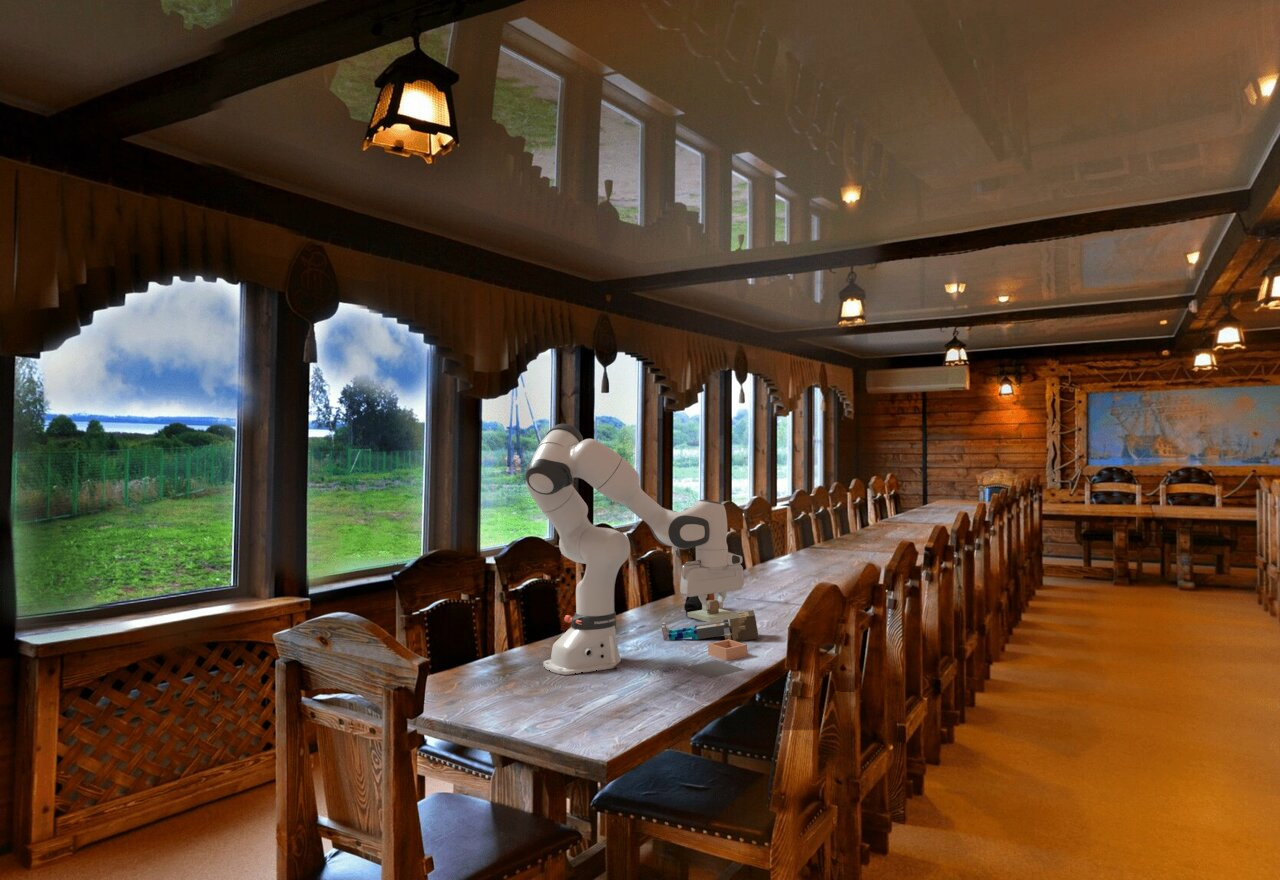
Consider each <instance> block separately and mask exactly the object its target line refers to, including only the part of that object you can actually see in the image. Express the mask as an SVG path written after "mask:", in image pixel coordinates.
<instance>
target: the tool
mask: <svg viewBox="0 0 1280 880" xmlns="http://www.w3.org/2000/svg"><path fill="white" fill-rule="evenodd" d="M685 597H686V599H685V602H684V611H685V616H686V618H689V619H692V618H691V617H687V612H692V611H698V610H702V603H701V601H700V600H699V596H693V597H687V596H685ZM708 600H715V593H712V594H707V598H706V601H708Z"/></svg>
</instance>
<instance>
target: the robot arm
mask: <svg viewBox="0 0 1280 880" xmlns="http://www.w3.org/2000/svg"><path fill="white" fill-rule="evenodd" d="M573 478H578V479H581V480H584V481H585V482H586V483H587V484H589V485H590V486H591V487H592V488H593V489H594V490H596V491H597V492H598V493H600V494H601V495H603V496H604V497H606V498H608V499H610V500H611V501H613V502H615V503H617V504H620V505H621V506H624V507H626V508H627V509H629V511H631V512H632V514H634V515H636V516H637V517H638V518H640V519H641V520H642V521H643V522H644V523H645V524H646V525H647V526H648V527H649V529H650V531H651V533H652V535H653V537H654V538H655V540H656V541H657V542H658V543H659V544H661V545H663V546H667V547H673V548H676V549H679V550H688V549H691V548H695V560H692V561H686V562H685V563H684V564H683V565H682V566H681V575H680V585H679V586H680V587H679V590H680V594H681V595H682V596H683V597H693V596H699V600H700V601H701V603H702V610H704V611H708V610H710V604H708V603H707V601H706V598H707V594H712V593H714V594H717V596H718V597H717V600H718V601H719V609H723V608H724V601H725V600H726V597H727V592H731V591H736V590H742V588H743V586H744V584H745V581H744V579H745V576H744V567H743V566H742V565H741V564H742V563H743V556H742V555H738V554H735V553H732V552H731V551H729V549H728V548H729V547H728V543H727V534H728V517H727V511H726V508H725V505H724V504H723V503H722V502H719V501H715V500H709V499H699V500H697V501H696V503H694V504H693V505H692V506H689V508H686V509H685V510H683V511H682V510H681V511H680V512H679V511H675V510H673V509H668V508H665V507H662V506H661V505H660V504H659V503H658V502H656V501H655V500H654V499H653V498H652V497H650V496H649V495H648V494H647V493H646V492H645V491H644V490H643V489H642V487H641V485H640V475H639V472H637V470H636V469H635V467H633V466H632V465H631V463H630V462H629V461H627V459H625V458H624V457H622V456H621V455H620V454H619V453H618V452H617V451H614V449H612V448H611V447H609V446H607V445H605V444H604V443H602V442H600V441H598V440H596V439H594V438H585V439H584V438H583V435H582V434H581V432H580V431H579V430H578V428H577V427H575V426H573V425H571V424H568V423H558V424H556V425H554V426H553V427H552V428H550V429H549V430H548V431H547V433H546V435H545V437H543V439H542V440H541V441H540V443H539V444H538V446H537V447H536V449H535V452H534V454H533V456H532V459H531V461H530V462H529V463H528V464H527V468H526V471H525V483H526V485H525V486H527V487H526V488H527V489H528V491H529V493H530V495H531V497H532V498H533V501H534V502H535V503H536V505H537V507H538V508H539V509H540V510H541V512H542V513H543V514H544V516H545V517H546V518H547V520H548V521H549V522H550V523H551V525H552V526H553V528H554V529H555V530H556V533H557V534H558V536H559V541H558V542H559V543H558V547H559V551H560V553H561V554H562V556H564V557H565V558H567V559H569V560H570V561H571V562H575V563H579V564H583V565H584V564H585V572H584V575H583V577H582V579H581V580H579V582H578V583H577V585H576V588H575V606H576V607H575V609H576V610H575V611H576V612H575V613H574V615H573V616H572V615H570V614H567V615H565V617H563V620H564V622H566V623H569V624H570V627H569V628H568V629H567V630H566V632H564V633H563V634H562V635H561V636H560V637H559V638H557V640H556V641H555V642H554V643H553V645H552V648H551V652H550V653H551V654H550V655H551V656H550V659H547V660H544V661H543V668H544V667H545V668H544V669H545V670H547V671H549V670H550V672H552V673H554V674H558V675H565V676H566V675H567V676H568V675H575V673H576V674H582V673H581V672H583V673H590V672H596V670H597V671H603V670H610V669H615V668H617V665H618V664H619V663H620V662H621V661H622V657H621V655H620V652H619V648H618V642H617V635H616V634H617V633H616V627H617V615H616V613H617V612H616V611H615V586H616V585H615V584H616V579H617V576H618V573H619V570H620V569H621V567H622V565H623V564H625V562H626V561H627V560H628V558H629V556H630V552H631V542H630V540H629V538H628V537H627V535H626V534H625V533H623V532H622V531H621V532H620V531H618V530H616V529H614V528H610V527H600V526H599V527H598V526H595V525H594V524H593V523H592V522H590V520H589V518H588V513H589V507H588V505H587V503H586V502H585V501H584V499H583V498H582V496H581V495H580V494H579V492H578V491H577V490H576V488H575V487H574V486H573V484H572V483H573Z"/></svg>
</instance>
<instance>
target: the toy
mask: <svg viewBox="0 0 1280 880" xmlns="http://www.w3.org/2000/svg"><path fill="white" fill-rule="evenodd" d="M736 613H739V618H734V619H729V620H723V621H718V622H712V623H710V622H707V623H699V624H695V626H690V627H689V626H687V627H683V628H675V629H670V628H668V627H667V625H666V622H662V626H661V631H662V633H661V634H662V638H663V641H676V640H683V639H690V638H691V640H692V641H694V640H695V641H696V640H702V639H708V638H709V639H710V638H715V637H716V638H717V637H721V636H722V637H723V636H724V640H728V639H729V640H733V641H736V642H743V641H751V640H756V639H759V638H760V636H759V630H758V626H757V619H756V618H757V617H756V614H755V610H753V609H752V610H745V611H737V612H736Z"/></svg>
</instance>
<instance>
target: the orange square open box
mask: <svg viewBox="0 0 1280 880" xmlns="http://www.w3.org/2000/svg"><path fill="white" fill-rule="evenodd" d="M707 655H708V656H711V657H713V658H717V659H720V660H723V661H731V660H735V659H740V658H744V657H748V644H746V643H742V642H741V641H733V639H731V640H729V639H728V640H725V639H724V640H720V641H719V640H718V641H715V642H710V643H709V642H708V643H707Z"/></svg>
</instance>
